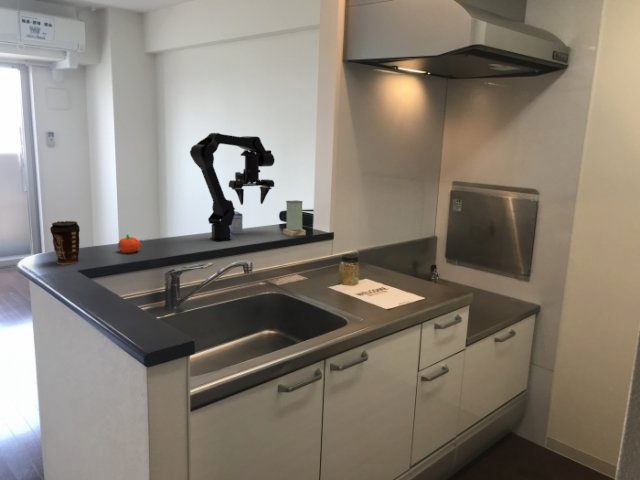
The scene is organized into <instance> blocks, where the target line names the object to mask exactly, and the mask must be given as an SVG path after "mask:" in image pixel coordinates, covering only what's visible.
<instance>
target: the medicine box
mask: <svg viewBox="0 0 640 480" xmlns="http://www.w3.org/2000/svg"><path fill="white" fill-rule="evenodd" d="M234 211H235V210H234ZM243 217H244V216H243V213H241V212H239V211H235V215H234V217H233V221H232V225H229V228H230V234H231V235H241V234H243V222H244V221H243V219H244V218H243Z"/></svg>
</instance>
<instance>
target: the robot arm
mask: <svg viewBox="0 0 640 480" xmlns="http://www.w3.org/2000/svg"><path fill="white" fill-rule="evenodd" d="M220 145H227V146H235V147H237V148H240V149H243V152H241V153H240V156H241V157H244V168H243V170H242V171H243V172H241V171H237V172H235V173H234V179H233V180H229V182H228V188H231V189H232V190H234V192H235V193H236V195H237V198H238V200H239V203H240V205H241V206H243V204H244V192H245V191H244V188H243V187H255V186H257V187H259V190H260V204H261V205H263V204H264V202H265V200H266V197H267V196H268V193H269V192H270V190H272V188H274V187H275V182H274V180H273V179H268V178H267V179H260V177H259V176H260V175H259V174H260V173H261V169H259V168H260V167H261V168H262V167H264V168H265V167H272V166H273V165H274V164H275V161H276V160H275V156H274V154H273V153H272V150H266V148H265V147H264V145H263V143H262V140H261V138H260V137H259V136H255V135H254V136H249V135H247V136H245V135H244V136H243V135H242V136H235V135H231V134H230V135H229V134H222V133H220V132H211V133H208V135H207V136H206V137H204V138H203V139H202V140H199V141H198V142H197V143H196V144H194V145H193V146H192V147H191V148H190V150H189V154H190V156H191V158H192V160H193V162H194V163H195V164H196V165H197V167H198V168H199V169H200V170H201V173H202V176H203V178H204V181H205V183H206V186H207V188H208V193H209V194H210V197H211V198H212V199H211V200H212V211H213V212H212V213H211V214H210V215H209V217H208V219H207V220H208V224H209V225H210V224H211V236H210V237H209V239H210V240H212V241H215V242H222V241H232V240H231V232H230V228H229V225H232V221H233V217H234V215H235V210H236V208H235V207H234V203H233V200H229V199H227V198H226V197H225V194H224V191H223V188H222V186H221V183H220V180H219V177H218V175H217V172H216V169H215V167H214V162H215V161H214V160H215V156H214V153H216V151H217V150H218V148H219V146H220Z"/></svg>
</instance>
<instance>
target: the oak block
mask: <svg viewBox="0 0 640 480" xmlns="http://www.w3.org/2000/svg"><path fill="white" fill-rule="evenodd" d="M282 233H283V234H284V235H287V236H290V237H296V236H306V229H303V228H302V229H301V230H289V229H287V228H283V231H282Z"/></svg>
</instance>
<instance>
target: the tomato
mask: <svg viewBox="0 0 640 480" xmlns="http://www.w3.org/2000/svg"><path fill="white" fill-rule="evenodd" d="M117 245H118V250H119V251H120V252H122V253H124V254H132V253H134V252H136V251H138V250H139V249H140V247H141V242H140V240H138V239H137V238H135V237H133V236H132V237H130V235H129V234H126V237H124V238H121V239H120V240H118V243H117Z"/></svg>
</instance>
